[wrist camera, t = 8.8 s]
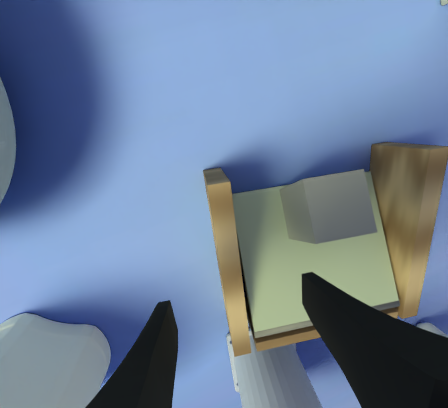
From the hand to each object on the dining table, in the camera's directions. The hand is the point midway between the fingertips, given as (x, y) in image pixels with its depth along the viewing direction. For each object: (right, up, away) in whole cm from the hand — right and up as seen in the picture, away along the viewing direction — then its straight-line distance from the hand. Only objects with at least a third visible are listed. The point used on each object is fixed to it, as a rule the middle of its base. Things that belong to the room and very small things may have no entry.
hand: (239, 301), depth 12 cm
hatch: (+7, +1, +9) cm, 11 cm away
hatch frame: (+7, +3, +11) cm, 13 cm away
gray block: (+7, +5, +8) cm, 11 cm away
